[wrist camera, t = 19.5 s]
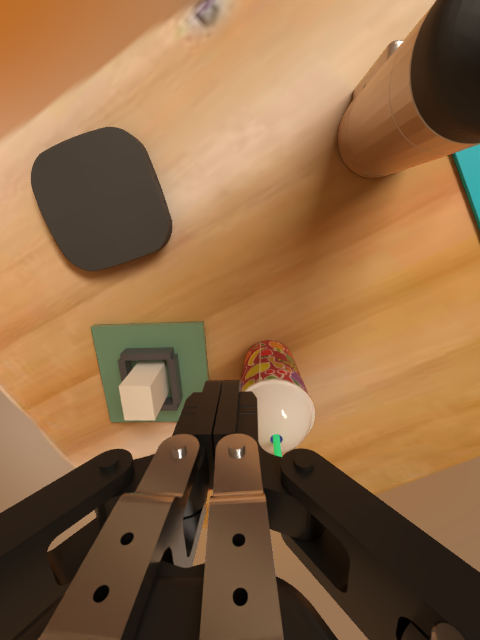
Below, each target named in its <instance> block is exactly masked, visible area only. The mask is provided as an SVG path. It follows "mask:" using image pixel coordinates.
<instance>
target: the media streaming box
mask: <svg viewBox="0 0 480 640" xmlns="http://www.w3.org/2000/svg"><path fill="white" fill-rule="evenodd" d="M31 185H32V189H33V192H34V195H35V198H36V201H37V203H38V206H39V208H40V211H41V213H42V215H43V217H44V220H45V222H46V224H47V226H48V228H49V230H50V232H51V234H52V235H53V237H54V239H55V241H56V243H57V244H58V246H59V248H60V249H61V251H62V252H63V254H64V256H65V257H66V258H67V259H68V260H69V261H70V262H71V263H73V264H74V265H75V266H77V267H79V268H81V269H84V270H87V271H97V270H101V269H105V268H108V267H112V266H115V265H118V264H122V263H125V262H128V261H131V260H134V259H137V258H139V257H142V256H145V255H148V254H150V253H153V252H155V251H158V250H160V249H161V248H163V247H164V246H165V245H166V244H167V242H168V241H169V239H170V236H171V233H172V220H171V216H170V213H169V210H168V207H167V203H166V200H165V197H164V195H163V192H162V189H161V186H160V183H159V181H158V178H157V175H156V173H155V170H154V168H153V165H152V163H151V160H150V158H149V155H148V153H147V151H146V149H145V147H144V146H143V144H142V143H141V142H140V141H139V140H138V139H136V138H135V137H134V136H132V135H131V134H129V133H128V132H126V131H124V130H122V129H119V128H115V127H105V128H101V129H97V130H93V131H90V132H87V133H84V134H81V135H78V136H75V137H73V138H70V139H68V140H66V141H63V142H61V143H59V144H57V145H55V146H53V147H51V148H49V149H47V150H45V151H44V152H42V153H41V154H40V155H39V156H38V157H37V158H36V160H35V162H34V164H33V167H32V172H31Z"/></svg>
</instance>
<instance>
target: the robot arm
mask: <svg viewBox="0 0 480 640" xmlns="http://www.w3.org/2000/svg"><path fill="white" fill-rule="evenodd" d="M477 145H480V0H437V1H436V2H435V3H434V4H433V6H432V7H431V8H430V9H429V10H428V12H427V13H426V14H425V15H424V16H423V18H422V19H421V20H420V21H419V22H418V24H417V25H416V26H415V27H414V29H413V30H412V31H411V32H410V33H409V35H408V36H407V37H406V38H405V39H404V40H397V41H393V42H391V43H390V44H389V45H388V46H387V47H386V49H385V50H384V51H383V53H382V54H381V55H380V57H379V58H378V59H377V60H376V62H375V63H374V64H373V66H372V67H371V68H370V70H369V71H368V72H367V73H366V75H365V76H364V77H363V79H362V80H361V81H360V83H359V84H358V85H357V86H356V88H355V89H354V92H353V100H352V102H351V104H350V105H349V107H348V108H347V110H346V111H345V113H344V115H343V117H342V119H341V122H340V126H339V130H338V148H339V152H340V155H341V158H342V159H343V161H344V163H345V164H346V166H347V167H348V168H349V169H350V170H351V171H353V172H354V173H356V174H358V175H360V176H363V177H366V178H378V177H384V176H387V175H391V174H394V173H397V172H399V171H402V170H405V169H408V168H411V167H414V166H417V165H420V164H423V163H426V162H429V161H432V160H435V159H438V158H441V157H444V156H447V155H450V154H453V153H456V152H459V151H462V150H465V149H468V148H471V147H474V146H477ZM208 489H213V496H211V497H210V503H209V516H208V530H207V544H206V557H205V563H204V564H200V565H197V566H193V567H192V565H193V561H194V557H195V553H196V549H197V545H198V541H199V537H200V533H201V529H202V525H203V521H204V517H205V513H206V499H207V493H208ZM93 510H95V513H96V516H97V517H96V518H95V519H94V520H92V521H91V522H90V523H88V524H87V525H86V526H84V527H83V528H81V529H80V530H79V531H77V532H76V533H75V534H73V535H72V536H71V537H69V538H68V539H67V540H65V541H64V542H63V543H61V544H60V545H58V546H57V547H56V548H54V549H53V550H51V551H49V552H47V550H48V547H49V545H50V544H51V542H52V541H53V540H54V539H55V538H56V537H57V536H58V535H60V534H61V533H62V532H64V531H65V530H67V529H68V528H70V527H71V526H72V525H74V524H75V523H76V522H78V521H79V520H81V519H82V518H83V517H85V516H86V515H88V514H89V513H90V512H92V511H93ZM270 529H272V530H274V531H277V532H280V533H281V535H282V538H283V540H284V542H285V543H286V545H287V546H288V547H289V548H290V549H291V550H292V551H293V553H294V554H295V555H296V556H297V557H298V558H299V560H300V561H301V562H302V563H303V564H304V565H305V567H306V568H307V569H308V570H309V571H310V572H311V573H312V575H313V576H314V577H315V578H316V579H317V580H318V582H319V583H320V584H321V585H322V586H323V587H324V588H325V590H326V591H327V592H328V593H329V594H330V595H331V597H332V598H333V599H334V600H335V601H336V602H337V603H338V605H339V606H340V607H341V608H342V609H343V610H344V612H345V613H346V614H347V615H348V616H349V617H350V618H351V620H352V621H353V622H354V623H355V624H356V625H357V626H358V628H359V629H360V630H361V631H362V632H363V633H364V635H365V636H366V637H367V638H368V639H369V640H480V572H478V571H477V570H476V569H474V568H473V567H471V566H470V565H469V564H467V563H466V562H465V561H463V560H462V559H461V558H459V557H458V556H456V555H455V554H454V553H452V552H451V551H450V550H448V549H447V548H446V547H444V546H443V545H441V544H440V543H439V542H437V541H436V540H435V539H433V538H432V537H431V536H429V535H428V534H427V533H425V532H424V531H422V530H421V529H420V528H418V527H417V526H416V525H414V524H413V523H412V522H410V521H409V520H407V519H406V518H405V517H403V516H402V515H401V514H399V513H398V512H397V511H395V510H394V509H393V508H391V507H390V506H388V505H387V504H386V503H384V502H383V501H382V500H380V499H379V498H378V497H376V496H375V495H373V494H372V493H371V492H369V491H368V490H367V489H365V488H364V487H363V486H361V485H360V484H358V483H357V482H356V481H354V480H353V479H352V478H350V477H349V476H348V475H346V474H345V473H344V472H342V471H341V470H339V469H338V468H337V467H335V466H334V465H333V464H331V463H330V462H329V461H327V460H326V459H324V458H323V457H322V456H320V455H319V454H317V453H316V452H314V451H311V450H308V449H293V450H290V451H288V452H287V453H285V454H284V455H283V457H279V456H275V455H272V454H270V453H268V452H266V451H265V450H264V449H263V448H262V447H261V446H260V444H259V442H258V408H257V397H256V396H255V394H254V393H253V392H252V391H241V383H240V380H224V381H222V380H215V381H205V384H204V388H203V391H202V392H193V393H192V394H191V395H190V396H189V397H188V398H187V399H186V401H185V404H184V406H183V409H182V412H181V415H180V417H179V419H178V422H177V425H176V427H175V430H174V433H173V435H172V436H171V437H169V438H167V439H166V440H164V441H163V442H162V443H161V444H160V446H159V447H158V449H157V451H156V453H155V454H153V455H150V456H147V457H143V458H139V459H135V460H133V459H132V455H131V453H130V452H128V451H127V450H124V449H113V450H109V451H106V452H103V453H101V454H99V455H98V456H96V457H94V458H93V459H91V460H89V461H88V462H86V463H84V464H83V465H81V466H79V467H78V468H76V469H74V470H72V471H71V472H69V473H68V474H66V475H64V476H63V477H61V478H59V479H57V480H56V481H54V482H52V483H51V484H49V485H47V486H46V487H44V488H42V489H41V490H39V491H37V492H35V493H34V494H32V495H30V496H29V497H27V498H25V499H24V500H22V501H20V502H19V503H17V504H15V505H14V506H12V507H10V508H8V509H7V510H5V511H3V512H2V513H0V640H338V639H337V638H336V636H335V635H334V634H333V632H332V631H331V630H330V628H329V627H328V626H327V624H326V623H325V621H324V620H323V619H322V618H321V616H320V615H319V613H318V612H317V611H316V609H315V608H314V607H313V606H312V604H311V603H310V602H309V601H308V600H307V599H306V598H305V597H304V596H303V595H302V593H300V592H299V591H298V590H297V589H296V588H294V587H293V586H292V585H290V584H289V583H287V582H286V581H284V580H283V579H280V578H278V577H276V574H275V567H274V559H273V551H272V543H271V535H270Z"/></svg>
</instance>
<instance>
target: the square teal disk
mask: <svg viewBox="0 0 480 640" xmlns="http://www.w3.org/2000/svg"><path fill="white" fill-rule="evenodd" d="M452 155H453V158H454V161H455V164H456V166H457V169H458V172H459V175H460V178H461V180H462V183H463V186H464V189H465V191H466V194H467V197H468V200H469V202H470V205H471V208H472V211H473V214H474V216H475V219H476V222H477V225H478V227H479V230H480V145H477V146H474V147H471V148H468V149H465V150H462V151H459V152H456V153H453V154H452Z"/></svg>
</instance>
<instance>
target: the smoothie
mask: <svg viewBox="0 0 480 640" xmlns="http://www.w3.org/2000/svg"><path fill="white" fill-rule="evenodd" d="M240 383H241V391H252V392H253V393H254V394H255V396H256V397H257V408H258V442H259V444H260V446H261V447H262V448H263V449H264V450H265V451H266V452H268V453H270V454H274V455H275V456H279V457H282V453H286V452H288V451H290V450H293V449H295V448H296V447H297V446H298V445H300V444H301V443H302V442H303V440H304V439H305V437H306V436H307V434H308V433H309V431H310V430H311V428H312V427H313V423H314V419H315V410H314V404H313V402H312V401H311V399H310V396H309V394H308V392H307V390H306V387H305V385H304V383H303V380H302V378H301V376H300V373H299V371H298V369H297V366H296V364H295V362H294V359H293V357H292V355H291V353H290V351H289V350H288V348H286V347H285V346H284V345H283V344H281V343H279V342H276V341H268V340H267V341H263V342H259V343H257V344H255V345H254V346H253V347H252V348H251V349H250V350H249V351H248V353H247V355H246V357H245V362H244V367H243V371H242V376H241V381H240Z"/></svg>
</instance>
